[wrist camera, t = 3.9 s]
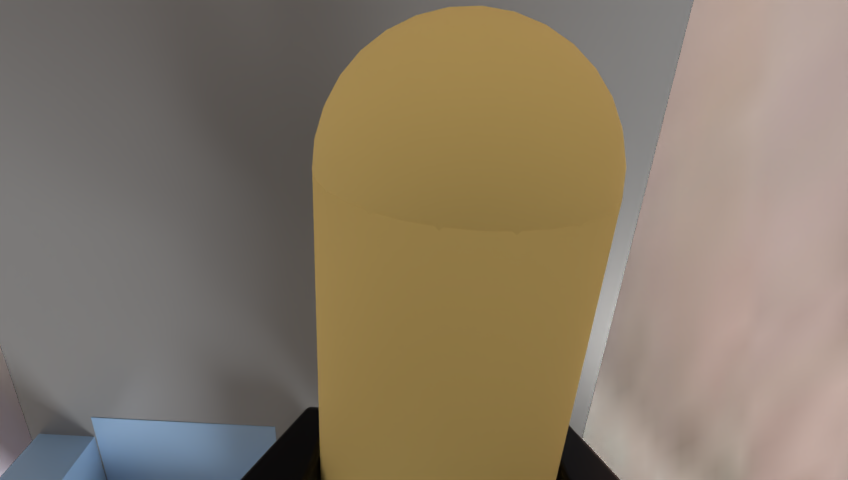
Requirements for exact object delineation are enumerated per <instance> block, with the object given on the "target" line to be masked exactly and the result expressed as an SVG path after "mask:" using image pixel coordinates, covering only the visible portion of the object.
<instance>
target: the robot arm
mask: <svg viewBox="0 0 848 480" xmlns="http://www.w3.org/2000/svg"><path fill="white" fill-rule="evenodd" d="M240 480H321V473H320V437H319V407H308V408H307V409H305V410H304V412H303V413H302V414H301V415H300V416H299V417H298V418H297V419H296V420H295V421H294V422H293V423H292V424H291V426H290V427H289V428H288V429H287V430H286V431H285V432H284V433H283V434H282V435H281V436H280V437H279V438H278V440H277V441H276V442H275V443H274V444H273V445H272V446H271V447H270V448H269V449H268V450H267V451H266V452H265V454H264V455H263V456H262V457H261V458H260V459H259V460H258V461H257V462H256V463H255V464H254V465H253V466H252V468H251V469H250V470H249V471H248V472H247V473H246V474H245V475H244V476H243V477H242V478H241V479H240ZM556 480H620V479H619V478H618V477H617V476H616V475H615V474H614V473H613V472H612V471H611V469H610V468H609V467H608V466H607V465H606V464H605V463H604V462H603V461H602V460H601V459H600V458H599V457H598V455H597V454H596V453H595V452H594V451H593V450H592V449H591V448H590V447H589V446H588V445H587V444H586V443H585V441H584V440H583V439H582V438H581V437H580V436H579V435H578V434H577V433H576V432H575V431H574V430H573V428H572V427H571V426H570V425H569V427H568V431H567V435H566V439H565V444H564V448H563V452H562V456H561V461H560V465H559V469H558V473H557V478H556Z"/></svg>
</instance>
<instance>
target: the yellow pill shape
mask: <svg viewBox="0 0 848 480" xmlns="http://www.w3.org/2000/svg"><path fill="white" fill-rule="evenodd" d="M625 173H626V158H625V147H624V136H623V129H622V125H621V122H620V119H619V116H618V112H617V109H616V106H615V103H614V100H613V97H612V95H611V93H610V92H609V90H608V88H607V86H606V85H605V83H604V81H603V79H602V78H601V76H600V74H599V73H598V71H597V69H596V68H595V67H594V66H593V65H592V63H591V62H590V61H589V60H588V59H587V58H586V57H585V56H584V55H583V54H582V53H581V51H580V50H579V49H578V48H577V47H576V46H575V45H574V44H573V43H572V42H570V41H569V40H567V39H566V38H564V37H563V36H562V35H560V34H559V33H557V32H556V31H554V30H553V29H552V28H550V27H549V26H547V25H546V24H543V23H541V22H539V21H536V20H534V19H531V18H529V17H527V16H524V15H522V14H519V13H517V12H515V11H509V10H503V9H498V8H492V7H487V6H458V7H446V8H442V9H438V10H435V11H431V12H427V13H423V14H419V15H416V16H413V17H411V18H409V19H407V20H405V21H403V22H401V23H399V24H397V25H395V26H393V27H391V28H389V29H387V30H386V31H384V32H383V33H382V34H381V35H379V36H378V37H377V38H376V39H374V40H373V41H372V42H370V43H369V44H368V45H367V46H365V47H364V48H363V49H362V50H360V52H359V53H358V54H357V55H356V56H355V58H354V59H353V60H352V61H351V62H350V64H349V65H348V66H347V67H346V68H345V70H344V71H343V72H342V73H341V74H340V76H339V78H338V80H337V82H336V84H335V85H334V87H333V89H332V91H331V93H330V95H329V97H328V99H327V101H326V102H325V105H324V107H323V110H322V114H321V117H320V121H319V124H318V128H317V131H316V134H315V138H314V149H313V161H312V182H313V219H314V255H315V291H316V328H317V364H318V401H319V437H320V473H321V480H556V478H557V473H558V469H559V465H560V461H561V456H562V452H563V448H564V444H565V439H566V435H567V431H568V427H569V422H570V418H571V414H572V410H573V406H574V401H575V397H576V393H577V389H578V384H579V380H580V376H581V372H582V367H583V363H584V359H585V355H586V351H587V346H588V342H589V338H590V334H591V329H592V325H593V321H594V317H595V312H596V308H597V304H598V300H599V295H600V291H601V287H602V283H603V279H604V274H605V270H606V266H607V262H608V257H609V253H610V249H611V245H612V240H613V236H614V232H615V228H616V223H617V219H618V215H619V211H620V207H621V202H622V198H623V190H624V182H625Z"/></svg>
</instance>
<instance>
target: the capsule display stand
mask: <svg viewBox="0 0 848 480" xmlns="http://www.w3.org/2000/svg"><path fill="white" fill-rule="evenodd" d="M692 4H693V0H0V346H1V349H2V352H3V355H4V358H5V361H6V364H7V367H8V370H9V373H10V376H11V379H12V382H13V385H14V388H15V391H16V394H17V397H18V400H19V403H20V406H21V409H22V412H23V415H24V417H25V420H26V423H27V426H28V429H29V432H30V435H31V438H32V442H31V443H30V444H29V446H28V447H27V448H26V449H25V450H24V451H23V452H22V453H21V455H20V456H19V457H18V458H17V459H16V460H15V461H14V462H13V464H12V465H11V466H10V467H9V468H8V469H7V470H6V471H5V473H4V474H3V475H2V476H1V477H0V480H240V479H241V478H242V477H243V476H244V475H245V474H246V473H247V472H248V471H249V470H250V469H251V468H252V466H253V465H254V464H255V463H256V462H257V461H258V460H259V459H260V458H261V457H262V456H263V455H264V454H265V452H266V451H267V450H268V449H269V448H270V447H271V446H272V445H273V444H274V443H275V442H276V441H277V440H278V438H279V437H280V436H281V435H282V434H283V433H284V432H285V431H286V430H287V429H288V428H289V427H290V426H291V424H292V423H293V422H294V421H295V420H296V419H297V418H298V417H299V416H300V415H301V414H302V413H303V412H304V410H305V409H307V408H308V407H319V401H318V364H317V328H316V291H315V255H314V219H313V182H312V161H313V149H314V138H315V134H316V131H317V128H318V124H319V121H320V117H321V114H322V110H323V107H324V105H325V102H326V101H327V99H328V97H329V95H330V93H331V91H332V89H333V87H334V85H335V84H336V82H337V80H338V78H339V76H340V74H341V73H342V72H343V71H344V70H345V68H346V67H347V66H348V65H349V64H350V62H351V61H352V60H353V59H354V58H355V56H356V55H357V54H358V53H359V52H360V50H362V49H363V48H364V47H365V46H367V45H368V44H369V43H370V42H372V41H373V40H374V39H376V38H377V37H378V36H379V35H381V34H382V33H383V32H384V31H386V30H387V29H389V28H391V27H393V26H395V25H397V24H399V23H401V22H403V21H405V20H407V19H409V18H411V17H413V16H416V15H419V14H423V13H427V12H431V11H435V10H438V9H442V8H446V7H458V6H487V7H492V8H498V9H503V10H509V11H515V12H517V13H519V14H522V15H524V16H527V17H529V18H531V19H534V20H536V21H539V22H541V23H543V24H546V25H547V26H549V27H550V28H552V29H553V30H554V31H556V32H557V33H559V34H560V35H562V36H563V37H564V38H566V39H567V40H569V41H570V42H572V43H573V44H574V45H575V46H576V47H577V48H578V49H579V50H580V51H581V53H582V54H583V55H584V56H585V57H586V58H587V59H588V60H589V61H590V62H591V63H592V65H593V66H594V67H595V68H596V69H597V71H598V73H599V74H600V76H601V78H602V79H603V81H604V83H605V85H606V86H607V88H608V90H609V92H610V93H611V95H612V97H613V100H614V103H615V106H616V109H617V112H618V116H619V119H620V122H621V125H622V129H623V136H624V147H625V158H626V173H625V182H624V190H623V198H622V202H621V207H620V211H619V215H618V219H617V223H616V228H615V232H614V236H613V240H612V245H611V249H610V253H609V257H608V262H607V266H606V270H605V274H604V279H603V283H602V287H601V291H600V295H599V300H598V304H597V308H596V312H595V317H594V321H593V325H592V329H591V334H590V338H589V342H588V346H587V351H586V355H585V359H584V363H583V367H582V372H581V376H580V380H579V384H578V389H577V393H576V397H575V401H574V406H573V410H572V414H571V418H570V422H569V425H570V426H571V427H572V428H573V430H574V431H575V432H576V433H577V434H578V435H579V436H580V437H581V438H582V437H583V433H584V429H585V425H586V421H587V417H588V413H589V409H590V405H591V402H592V398H593V394H594V390H595V386H596V382H597V378H598V374H599V370H600V366H601V362H602V358H603V354H604V350H605V346H606V343H607V339H608V335H609V331H610V327H611V323H612V319H613V315H614V311H615V307H616V303H617V299H618V295H619V291H620V288H621V284H622V280H623V276H624V272H625V268H626V264H627V260H628V256H629V252H630V248H631V244H632V240H633V236H634V232H635V229H636V225H637V221H638V217H639V213H640V209H641V205H642V201H643V197H644V193H645V189H646V185H647V181H648V177H649V173H650V170H651V166H652V162H653V158H654V154H655V150H656V146H657V142H658V138H659V134H660V130H661V126H662V122H663V118H664V114H665V111H666V107H667V103H668V99H669V95H670V91H671V87H672V83H673V79H674V75H675V71H676V67H677V63H678V59H679V55H680V52H681V48H682V44H683V40H684V36H685V32H686V28H687V24H688V20H689V16H690V12H691V8H692Z"/></svg>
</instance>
